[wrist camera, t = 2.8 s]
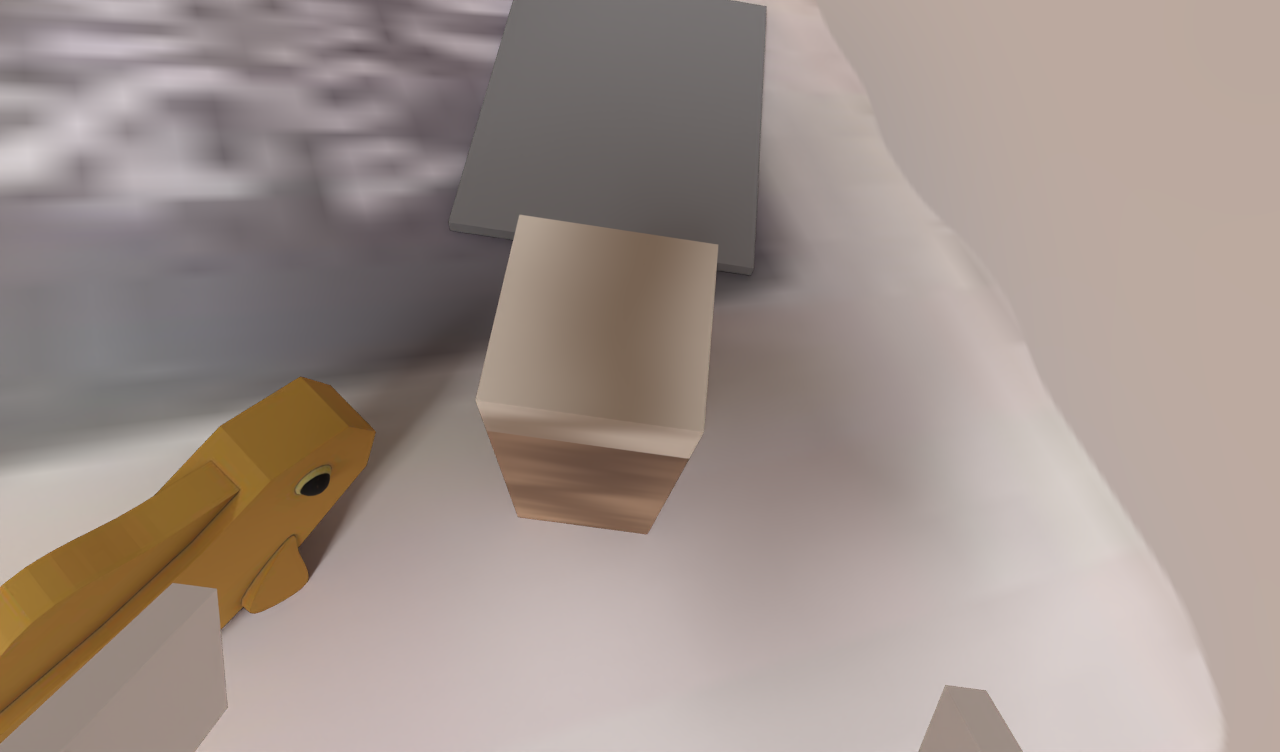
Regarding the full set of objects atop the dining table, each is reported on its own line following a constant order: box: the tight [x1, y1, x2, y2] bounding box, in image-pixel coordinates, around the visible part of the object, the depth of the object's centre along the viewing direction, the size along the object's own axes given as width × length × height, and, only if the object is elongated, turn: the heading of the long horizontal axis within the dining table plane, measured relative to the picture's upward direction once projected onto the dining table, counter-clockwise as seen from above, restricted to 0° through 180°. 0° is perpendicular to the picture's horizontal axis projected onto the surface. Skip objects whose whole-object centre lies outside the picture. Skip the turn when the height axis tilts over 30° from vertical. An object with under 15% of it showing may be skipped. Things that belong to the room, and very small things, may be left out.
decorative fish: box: [0, 377, 376, 743], centre depth 18 cm, size 22×3×10 cm, turn 137°
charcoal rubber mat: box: [448, 0, 767, 275], centre depth 34 cm, size 14×18×1 cm
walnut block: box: [475, 215, 718, 534], centre depth 21 cm, size 5×5×12 cm
